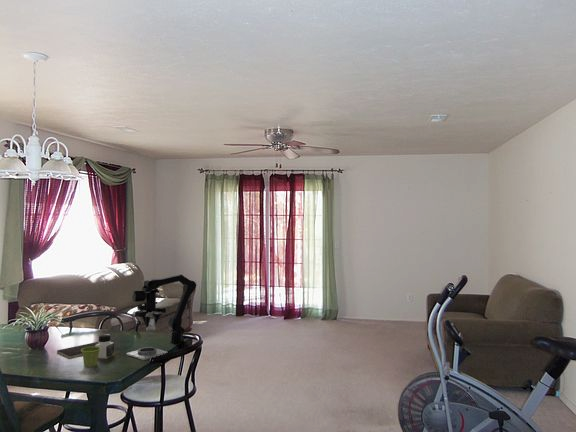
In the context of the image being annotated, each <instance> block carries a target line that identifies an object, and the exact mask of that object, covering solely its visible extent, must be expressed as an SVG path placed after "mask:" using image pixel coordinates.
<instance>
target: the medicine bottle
mask: <svg viewBox="0 0 576 432" xmlns="http://www.w3.org/2000/svg"><path fill="white" fill-rule="evenodd" d="M98 343H99V344H97V345H95V347H100V348H101V349H100V351H99V354H98V359H108V358H110V357H113V356H114V355H115V344H114V342H113V341H111V334H109V333H105V334H104V333H103V334H101V335H99V336H98Z"/></svg>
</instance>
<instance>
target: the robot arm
mask: <svg viewBox="0 0 576 432" xmlns="http://www.w3.org/2000/svg"><path fill="white" fill-rule="evenodd" d="M178 282H179V283H180V284H181V285H183V286H182V295H181V297H180V300H179V303H178V305H177V307H176V310H175V313H174V315H173V316H169V320H168V322H167V327H168V328H169V329H170V331H171V338H170V339H171V340H170V341H169V343H173V344H182V343H185V340H184V333H185V328H184V327H183V326H182V322H183V320H182V319H183V316H184V314H185V313H184V312H185V310H186V307H187V304H188V301H189V300H190V297H191V295H192V294H193V293H194V291H195V290H196V287H197V282H195V281H194V280H190V279H189V278H187V277H186V276H184V275H183V274H180V273H178V274H176V275H171V276H166V277H163V278H148V279H146V281H145V282H144V285H143V286H142V288H141V289H140V290H139V289H138V290H135V289H134V290H133V293H132V302H133V303H138V302H139V304H137V311H135V313H134V317H137V318H142V320H143V322H144V326H145V328H146V327H148V324H149V316H150V315H152V316H155V326H157V325H156V324H157V323H158V321H159V319H160V317H161V316H162V315H163V314H165V313H167V309H166V307H162V306H159V307H157V304H158V302H157V294H158V293H160V290H158V288H160V287H162V286H164V285H168V284H174V283H178ZM140 302H144V304H143V303H141V304H140ZM182 340H184V341H183V342H182Z"/></svg>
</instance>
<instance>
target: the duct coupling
mask: <svg viewBox="0 0 576 432" xmlns="http://www.w3.org/2000/svg"><path fill="white" fill-rule="evenodd" d="M148 316H149V324H148V327H146V326H145V328H146V331H147V332H152V331H156V325H155V316H153V315H148Z"/></svg>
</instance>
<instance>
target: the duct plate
mask: <svg viewBox="0 0 576 432" xmlns="http://www.w3.org/2000/svg"><path fill="white" fill-rule="evenodd" d="M168 352H169V351H167V350H163V349H159V348H156V347H152V346H148V347H142V348H141V347H140V348H138V349H137V350H133V351H129V352H126V356H127V357H131V358H135V359H137V360H141V361H146V360H149V359H152V357H153V358H157V357H159V356H160V355H161V356H163V354H164V355H166V354H165V353H168ZM168 354H169V353H168ZM156 356H157V357H156Z"/></svg>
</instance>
